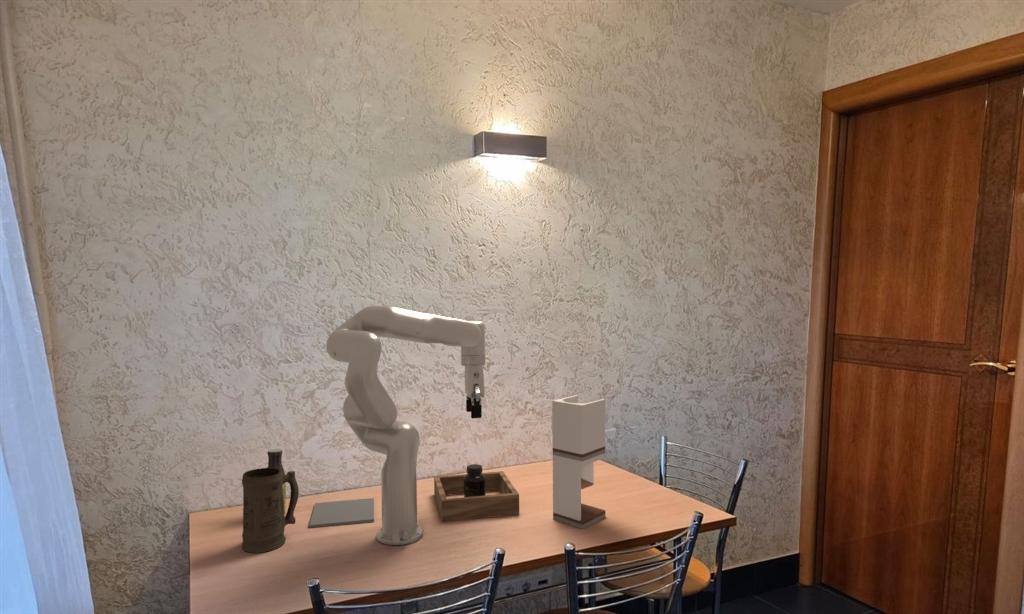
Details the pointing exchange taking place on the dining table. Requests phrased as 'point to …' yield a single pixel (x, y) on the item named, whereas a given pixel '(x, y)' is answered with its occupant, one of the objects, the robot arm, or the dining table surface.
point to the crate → (475, 498)
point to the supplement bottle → (474, 481)
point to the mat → (342, 512)
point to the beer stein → (266, 508)
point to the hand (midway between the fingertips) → (473, 414)
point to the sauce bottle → (275, 462)
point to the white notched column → (576, 457)
